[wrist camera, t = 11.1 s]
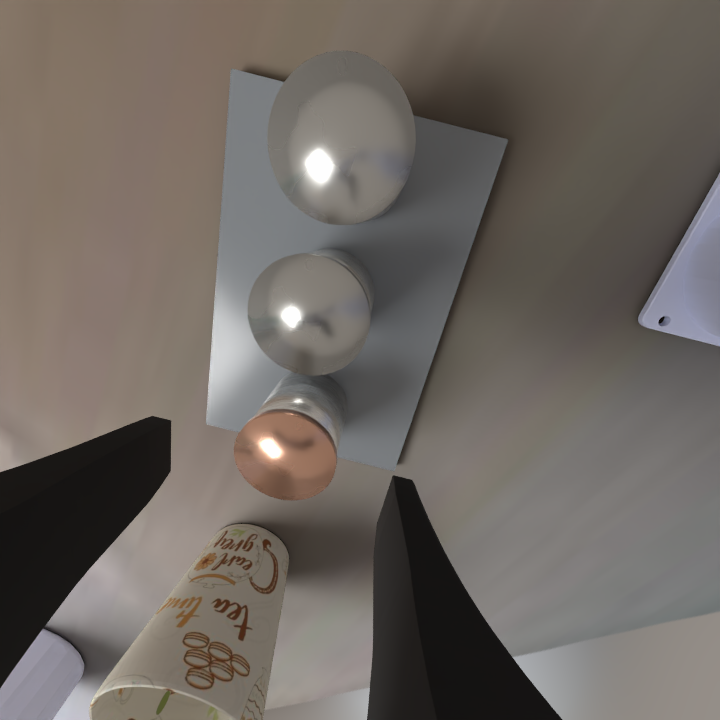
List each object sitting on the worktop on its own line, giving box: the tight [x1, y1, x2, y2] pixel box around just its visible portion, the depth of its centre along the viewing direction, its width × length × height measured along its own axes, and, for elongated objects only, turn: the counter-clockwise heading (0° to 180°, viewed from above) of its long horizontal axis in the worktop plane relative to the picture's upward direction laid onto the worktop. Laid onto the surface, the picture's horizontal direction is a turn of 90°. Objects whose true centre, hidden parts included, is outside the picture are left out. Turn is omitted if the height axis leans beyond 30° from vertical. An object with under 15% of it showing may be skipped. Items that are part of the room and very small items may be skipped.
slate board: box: [206, 69, 508, 471], centre depth 18 cm, size 12×18×1 cm, turn 167°
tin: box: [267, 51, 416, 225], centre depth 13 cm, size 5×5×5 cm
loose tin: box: [234, 372, 348, 500], centre depth 17 cm, size 5×5×5 cm
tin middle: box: [248, 249, 375, 376], centre depth 15 cm, size 5×5×5 cm
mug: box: [89, 524, 289, 720], centre depth 22 cm, size 8×13×10 cm, turn 143°
